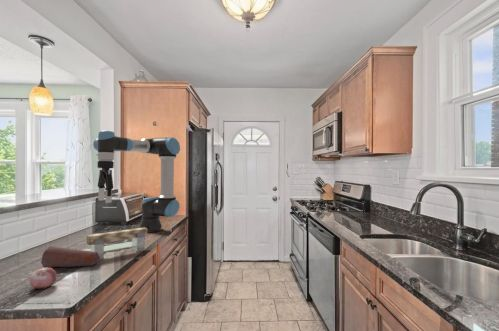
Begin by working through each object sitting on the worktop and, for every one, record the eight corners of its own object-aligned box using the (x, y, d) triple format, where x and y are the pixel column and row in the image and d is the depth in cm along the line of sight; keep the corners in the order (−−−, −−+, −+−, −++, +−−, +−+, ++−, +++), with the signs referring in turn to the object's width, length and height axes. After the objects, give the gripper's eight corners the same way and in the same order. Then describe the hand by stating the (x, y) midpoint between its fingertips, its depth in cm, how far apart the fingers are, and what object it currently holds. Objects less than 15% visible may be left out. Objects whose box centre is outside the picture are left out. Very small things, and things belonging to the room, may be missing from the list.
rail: (144, 234, 153) (144, 227, 153) (147, 235, 150) (147, 228, 150) (86, 243, 134) (86, 235, 134) (89, 245, 131) (89, 236, 131)
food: (40, 271, 117) (40, 249, 117) (51, 263, 126) (51, 244, 127) (95, 268, 121) (95, 247, 121) (102, 261, 130) (102, 241, 131)
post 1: (99, 254, 139) (99, 235, 139) (103, 258, 134) (103, 238, 134) (90, 256, 136) (90, 237, 136) (94, 260, 131) (94, 239, 131)
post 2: (139, 247, 153) (139, 230, 153) (144, 250, 148) (144, 232, 148) (131, 248, 150) (132, 231, 150) (137, 251, 145) (137, 233, 145)
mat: (137, 241, 165) (137, 240, 165) (144, 245, 158) (144, 244, 158) (74, 252, 143) (74, 251, 143) (79, 256, 136) (79, 255, 136)
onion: (28, 293, 96) (29, 272, 96) (29, 286, 102) (30, 266, 102) (56, 288, 100) (57, 268, 100) (56, 281, 107) (56, 262, 107)
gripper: (92, 160, 153) (91, 199, 152) (104, 159, 134) (103, 204, 133) (107, 161, 157) (106, 199, 157) (120, 160, 139) (119, 203, 138)
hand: (104, 201), depth 145 cm, fingers open, 13 cm apart
